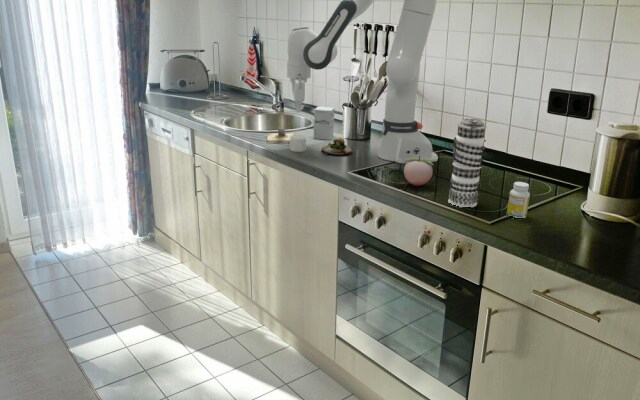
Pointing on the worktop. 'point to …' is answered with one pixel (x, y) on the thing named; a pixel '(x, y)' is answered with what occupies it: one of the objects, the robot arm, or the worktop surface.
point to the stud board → (279, 137)
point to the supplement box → (323, 123)
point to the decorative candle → (467, 163)
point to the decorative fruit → (418, 171)
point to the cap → (298, 143)
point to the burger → (337, 147)
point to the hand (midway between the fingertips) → (297, 109)
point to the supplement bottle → (518, 200)
